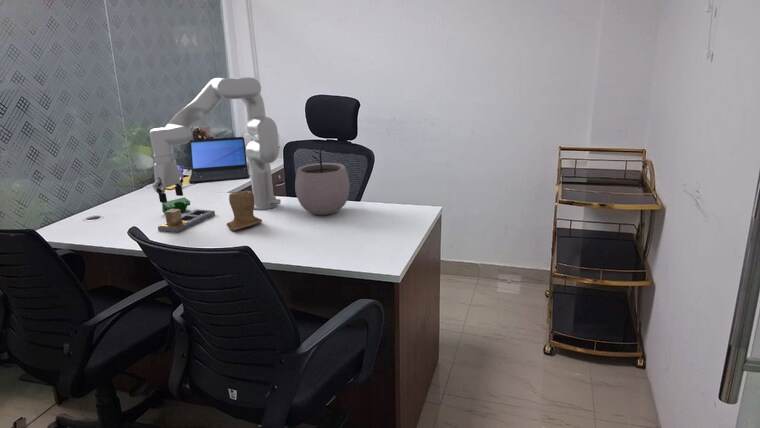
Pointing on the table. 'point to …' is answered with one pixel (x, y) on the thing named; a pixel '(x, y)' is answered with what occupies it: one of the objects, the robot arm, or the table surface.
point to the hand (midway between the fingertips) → (171, 198)
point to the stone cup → (242, 210)
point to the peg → (173, 217)
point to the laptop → (218, 160)
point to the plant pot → (322, 187)
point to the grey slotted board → (190, 216)
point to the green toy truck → (176, 204)
